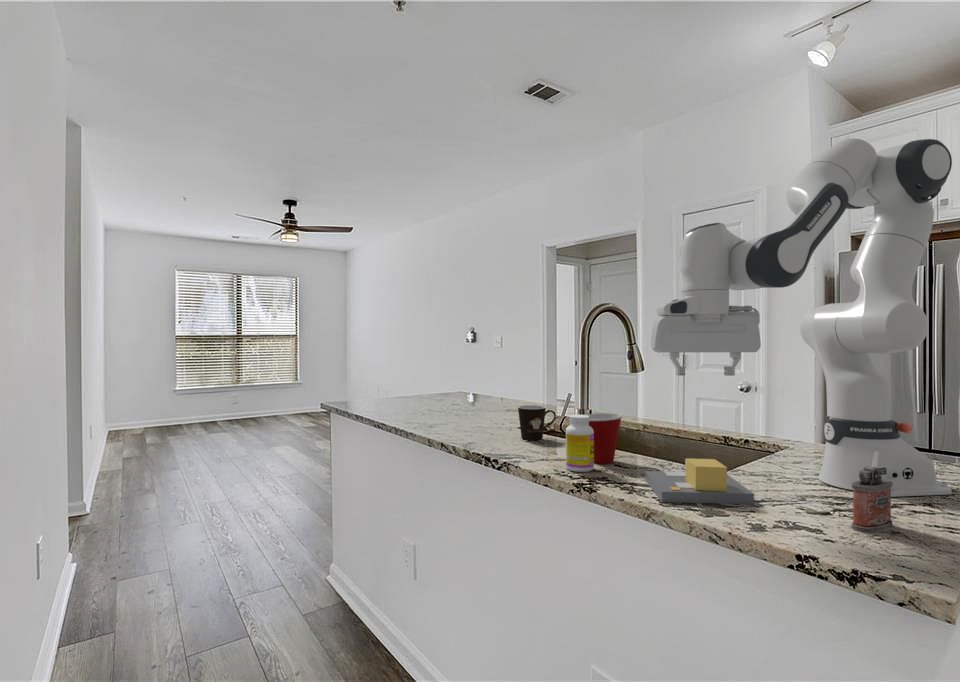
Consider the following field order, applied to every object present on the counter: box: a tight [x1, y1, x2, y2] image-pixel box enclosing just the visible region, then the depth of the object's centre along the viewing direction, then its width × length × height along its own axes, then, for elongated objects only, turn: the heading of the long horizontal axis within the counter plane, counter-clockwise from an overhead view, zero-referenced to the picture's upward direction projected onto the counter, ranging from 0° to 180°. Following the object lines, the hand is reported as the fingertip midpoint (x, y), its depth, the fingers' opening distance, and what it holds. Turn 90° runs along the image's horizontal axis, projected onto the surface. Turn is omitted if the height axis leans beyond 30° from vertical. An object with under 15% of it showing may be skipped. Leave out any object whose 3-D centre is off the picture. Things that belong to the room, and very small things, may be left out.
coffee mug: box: [517, 404, 557, 442], centre depth 160 cm, size 12×9×10 cm
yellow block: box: [685, 458, 728, 491], centre depth 103 cm, size 6×7×5 cm
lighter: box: [851, 466, 893, 534], centre depth 86 cm, size 8×3×10 cm, turn 113°
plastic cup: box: [586, 412, 623, 465], centre depth 132 cm, size 11×11×12 cm
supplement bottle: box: [565, 414, 595, 473], centre depth 124 cm, size 7×7×13 cm
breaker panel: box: [644, 470, 755, 505], centre depth 106 cm, size 17×15×2 cm
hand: (704, 375), depth 103 cm, fingers open, 8 cm apart
